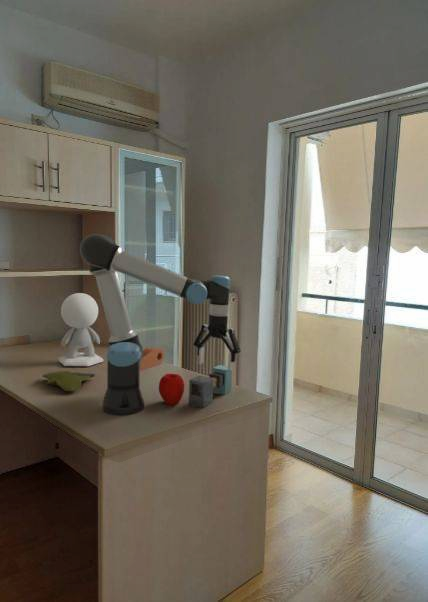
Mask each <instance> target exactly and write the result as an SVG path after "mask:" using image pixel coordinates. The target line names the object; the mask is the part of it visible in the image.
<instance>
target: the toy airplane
mask: <svg viewBox="0 0 428 602" xmlns="http://www.w3.org/2000/svg"><path fill="white" fill-rule="evenodd" d="M95 375H96V374H95V373H84V372H83V373H82V372H71V371H70V370H69V371H67V370H66V371H65V370H61V371H55V372H50V373H44V374H43V375H41V377H43V378H45V379H48V381H47V382H46V384H47V385H55V386H58V387H60V388H61V389H62V390H64V391H66V392H67V391H69V392H72V391H75V390H78V389H81V386H82V382H83V381H86V380H89V379H91V378H94V377H95Z"/></svg>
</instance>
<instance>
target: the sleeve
mask: <svg viewBox="0 0 428 602" xmlns="http://www.w3.org/2000/svg"><path fill="white" fill-rule="evenodd" d="M188 381H189V382H188V383H189V384H188V385H189V386H188V387H189V390H188V405H189V406H193V407H197V408H202V409H204V408H206V407H207V406H209V405H211V404H213V402H214V401H213V400H214V399H213V397H214V396H213V395H214V393H213V378H209V376H205V375H197V376H195V377H193V378H190V379H189V380H188ZM200 385H201V386H202V391H201V390H199V386H200Z"/></svg>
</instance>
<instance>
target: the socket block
mask: <svg viewBox="0 0 428 602" xmlns="http://www.w3.org/2000/svg"><path fill="white" fill-rule="evenodd" d="M212 373H222V374H224V382H223V386H222V387H220V388H218V387H214V388H213V394H219V395H224V396H226V395H227V394H229V393H231V392H232V380H233V379H232V377H233V369H232V370H228V366H226V365H221V364H218V365H216V366H214V367H212Z"/></svg>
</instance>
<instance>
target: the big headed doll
mask: <svg viewBox="0 0 428 602" xmlns="http://www.w3.org/2000/svg"><path fill="white" fill-rule="evenodd" d="M60 315H61V318H62V321H64V323H65V324H66V325H67V326H69V327H71V328H70V329H69V330H68V331H67V332H66V333H65V334H64V336H63V337H62V339H61V342H60V346H61V348H65V347H66V345H68V348H67V351H66V352H67V353H66V355H63V356H60V357H59V358H58V360H57V361H58V362H59V363H60V364H61V365H63V366H64V367H91V366H93V365H94V366H95V365H96V364H99V363H103V362H104V361H105V360H104V359H103V358H102V357H101V356H100V355H98V354H97V353H95V352H96V351H95V348H94V343H95V342H96V344H97V345H100V344H101V343H100V342H101V340H100V339H101V337H100V336H99V334H98V333H97V332H96V331H95V330H94V329H93V328H92V327H90V326H92V325H93V324H94V323H95V322H96V320H97V319H98V317H99V306H98V303H97V302H96V300H95V299H94V297H92V296H91V295H90V294H87V293H84V292H83V293H82V292H77V293H73V294H70V295H69V296H67V297H65V299H64V301H63V302H62V304H61V306H60ZM79 349H83V352H79Z"/></svg>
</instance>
